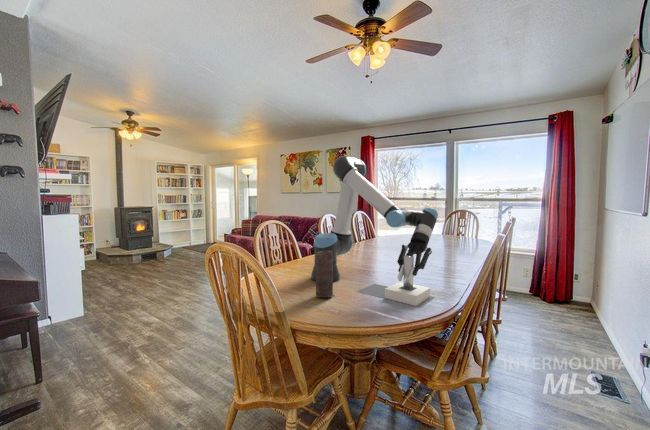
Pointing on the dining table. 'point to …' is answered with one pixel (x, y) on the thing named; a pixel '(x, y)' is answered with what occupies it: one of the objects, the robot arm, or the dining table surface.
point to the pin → (408, 272)
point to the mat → (380, 292)
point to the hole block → (407, 294)
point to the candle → (324, 274)
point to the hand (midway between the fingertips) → (404, 280)
